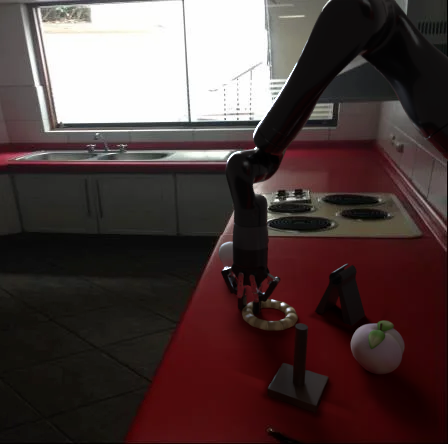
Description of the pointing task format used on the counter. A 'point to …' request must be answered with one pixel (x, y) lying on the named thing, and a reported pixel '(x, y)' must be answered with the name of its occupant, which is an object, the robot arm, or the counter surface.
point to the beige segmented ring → (271, 325)
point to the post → (298, 377)
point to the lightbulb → (226, 254)
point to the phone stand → (343, 295)
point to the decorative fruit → (378, 347)
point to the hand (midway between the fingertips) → (249, 312)
